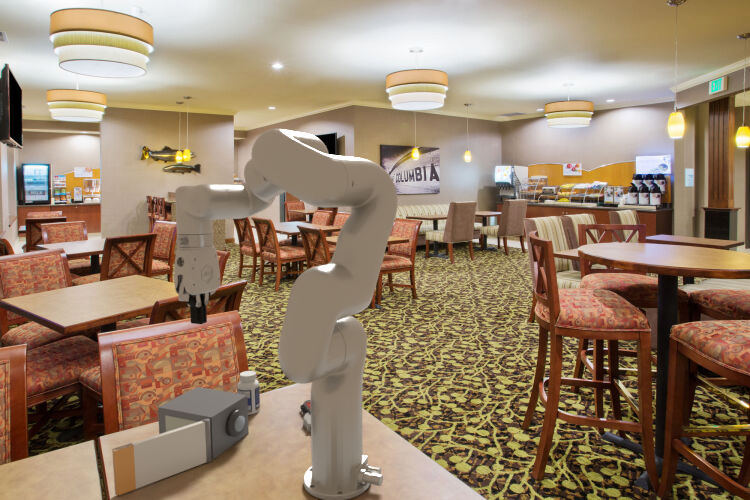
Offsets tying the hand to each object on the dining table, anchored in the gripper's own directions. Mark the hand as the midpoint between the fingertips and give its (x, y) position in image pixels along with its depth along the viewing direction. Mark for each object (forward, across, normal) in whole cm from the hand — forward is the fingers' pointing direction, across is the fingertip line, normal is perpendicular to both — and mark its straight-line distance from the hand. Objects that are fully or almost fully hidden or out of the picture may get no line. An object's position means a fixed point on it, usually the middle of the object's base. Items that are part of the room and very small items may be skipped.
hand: (198, 322), depth 110 cm
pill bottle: (+25, +12, -4) cm, 28 cm away
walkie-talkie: (+26, +12, -25) cm, 38 cm away
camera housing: (+25, -4, -4) cm, 26 cm away
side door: (+25, -18, -7) cm, 32 cm away
